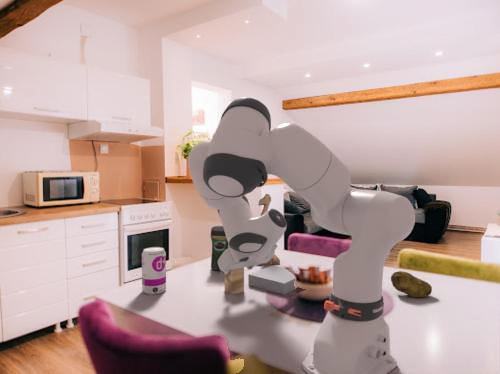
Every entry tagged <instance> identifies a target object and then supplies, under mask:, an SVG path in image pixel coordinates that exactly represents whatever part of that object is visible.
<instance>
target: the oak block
mask: <svg viewBox="0 0 500 374" xmlns="http://www.w3.org/2000/svg"><path fill="white" fill-rule="evenodd" d="M224 292H227V293H228V294H230V295H235V294H240V293H244V292H245V267H243V268H238V269H233V270H231V273H230V274H227V275H225V274H224Z"/></svg>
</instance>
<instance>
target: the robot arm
mask: <svg viewBox="0 0 500 374" xmlns="http://www.w3.org/2000/svg"><path fill="white" fill-rule="evenodd" d="M271 118H272V117H271V113H270V111H269V109H268V107H267V106H266V104H264V103H263V102H262V101H260V100H258V99H256V98H252V97H247V96H246V97H243V96H242V97H238V98H236V99H234V100H233V101H231V102H230V103H229V104H228V105H227V107H225V109H224V111H223V112H222V115H221V117H220V120H219V124H218V125H217V128H216V129H215V131H214V133H213V134H212V138H211V140H204V141H201V142H199V143H196V145H194V146H193V147H192V148H191V150H190V151H189V152H188V156H187V168H188V172H189V175H190V178H191V181H192V184H193V185H194V188H195V189H196V191H197V193H198V195H199V197H200V198H201V200H202V201H203V202H204V203H205V204H206V206H208V207H210V209H212V210H217V213H218V215H219V217H220V221H221V223H222V226H223V228H224V231H225V234H226V238H227V241H228V244H229V245H228V247H229V248H228V249H226V250H225V251H224V252H223V254H222V255H221V256H220V258H219V260H218V266H219V268H220V270H221V272H224V273H223V274H224V276H225V275H227V274H230V273H231V270H233V269H238V268H243V267H244V268H247V271H248V270H253V268H254V267H257V266H259V265H258V264H262V263H267V262H268V261H270V260H271V259H272V257H273V255H274V254H275V252H276V249H278V245H277V243H278V242H279V241H280V239H282V237H283V235H284V234H285V232H286V230H287V226H288V223H287V220H286V218H285V216H284V215H283V214H282V213H281V212H280V211H279V210H277V209H276V208H268V210H267V211H266V212H265V213H264V214H263V215H262V216H261V215H260V216H257V217H254V215H253V212H252V210H251V207H250V203H249V199H248V198H247V197H246V196H245V195H248V194H249V193H252V192H253V191H254V190H255V189H257V188H261V187H264V185H266V183H267V182H268V177H269V175H271V176H275V177H276V178H277V177H278V178H279V179H280V180H281V181H283V183H285V185H287V186H288V187H289V189H292V190H293V191H294V192H295V193H296V194H297V195H298V196H300V197H301V198H302V199H303V200H305V201H306V202H307V203H308V204H309V205H310V215H311V219H312V221H313V222H314V224H315V225H317V226H319V227H321V228H322V229H324V230H327V231H330V232H331V233H334V234H335V233H336V234H341V235H346V236H351V240H350V241H351V242H350V245H349V248H348V250H346V251H343V252H341V253H340V254H338V255H337V256H336V258H334V261H333V262H332V263H333V264H332V290H331V293H330V296H329V300H325V301H324V304H323V305H324V306H323V309H324V310H326V311H327V313H326V315H325V316H324V319H323V320H322V323H321V324H320V327H319V329H318V331H317V333H316V335H315V338H314V341H313V346H311V349H310V351H309V352H308V354H307V355H306V357H305V358H304V359H303V361H302V363H301V368H302V369H303V370H304V371H305V372H306V374H388V373H390V372H391V371H392V370H394V369H395V368H396V367H397V366H398V361H397V359H396V358H395V357H393V355H391V333H390V330H391V329H390V326H389V325H388V323H387V322H386V320H385V318H384V316H383V314H384V308H385V302H384V296H383V295H382V291H383V276H384V268H385V263H386V260H387V257H388V255H389V253H390V252H391V250H392V249H393V248H394V247H395V246H396V245H398V244H399V243H400V242H402V241H403V240H404V239H406V238H407V237H408V236H409V235H410V234H411V233H412V231H413V229H414V226H415V224H416V213H415V208H414V207H413V204H412V202H411V201H410V200H409V198H407V197H406V196H403V195H400V194H398V193H394V192H390V191H386V190H373V189H371V190H370V189H361V188H356V187H352V186H351V184H352V177H351V176H352V175H351V171H350V169H349V168H348V167H347V166H346V165H345V164H344V163H343V162H342V161H341V159H339V158H338V157H337V156H336V154H335V153H333V151H331V150H330V149H329V147H327V146H326V145H325V144H324V143H323V142H322V141H321V140H320V139H318V137H316V136H315V135H313V134H312V133H311V132H309V131H308V130H306V129H305V128H304V127H301V126H300V125H298V124H297V123H291V122H287V123H283V124H279V125H278V126H276V127H275V128H273V129H272V119H271Z"/></svg>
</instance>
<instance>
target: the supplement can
mask: <svg viewBox="0 0 500 374" xmlns="http://www.w3.org/2000/svg"><path fill="white" fill-rule="evenodd" d="M166 256H167V254H166V251H165V248H164V247H160V246H152V247H147V248H143V251H142V253H141V282H142V283H141V284H142V285H141V286H142V287H141V289H142V290H141V291H142V292H143V293H144V294H146V295H152V296H153V295H159V294H162V293H163V292H165V291H166V289H167V260H166V259H167V257H166Z"/></svg>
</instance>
